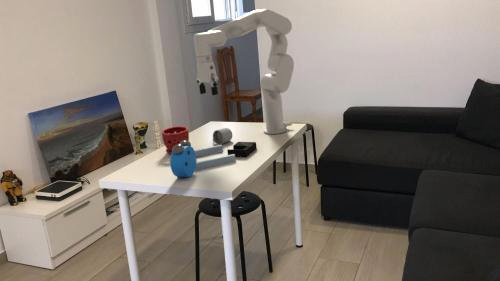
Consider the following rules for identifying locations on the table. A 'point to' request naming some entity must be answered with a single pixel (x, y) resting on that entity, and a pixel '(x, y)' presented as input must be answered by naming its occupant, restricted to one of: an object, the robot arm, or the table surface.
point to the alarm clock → (183, 159)
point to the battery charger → (243, 149)
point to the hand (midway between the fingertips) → (209, 94)
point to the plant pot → (174, 137)
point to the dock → (215, 160)
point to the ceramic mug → (222, 136)
